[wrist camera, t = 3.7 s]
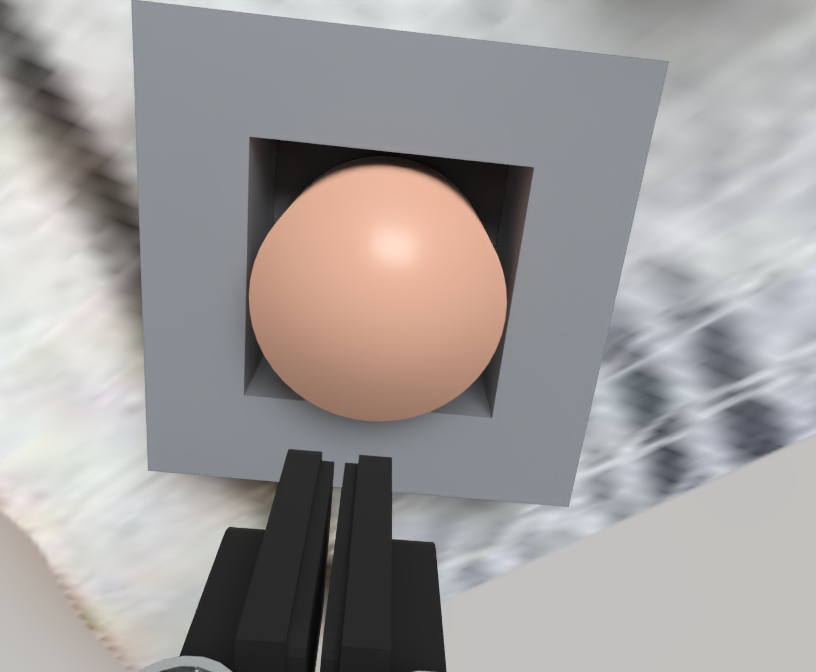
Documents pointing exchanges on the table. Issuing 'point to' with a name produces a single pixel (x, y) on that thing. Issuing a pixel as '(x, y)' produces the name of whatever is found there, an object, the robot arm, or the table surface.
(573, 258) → the button base
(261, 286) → the button
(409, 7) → the table surface
